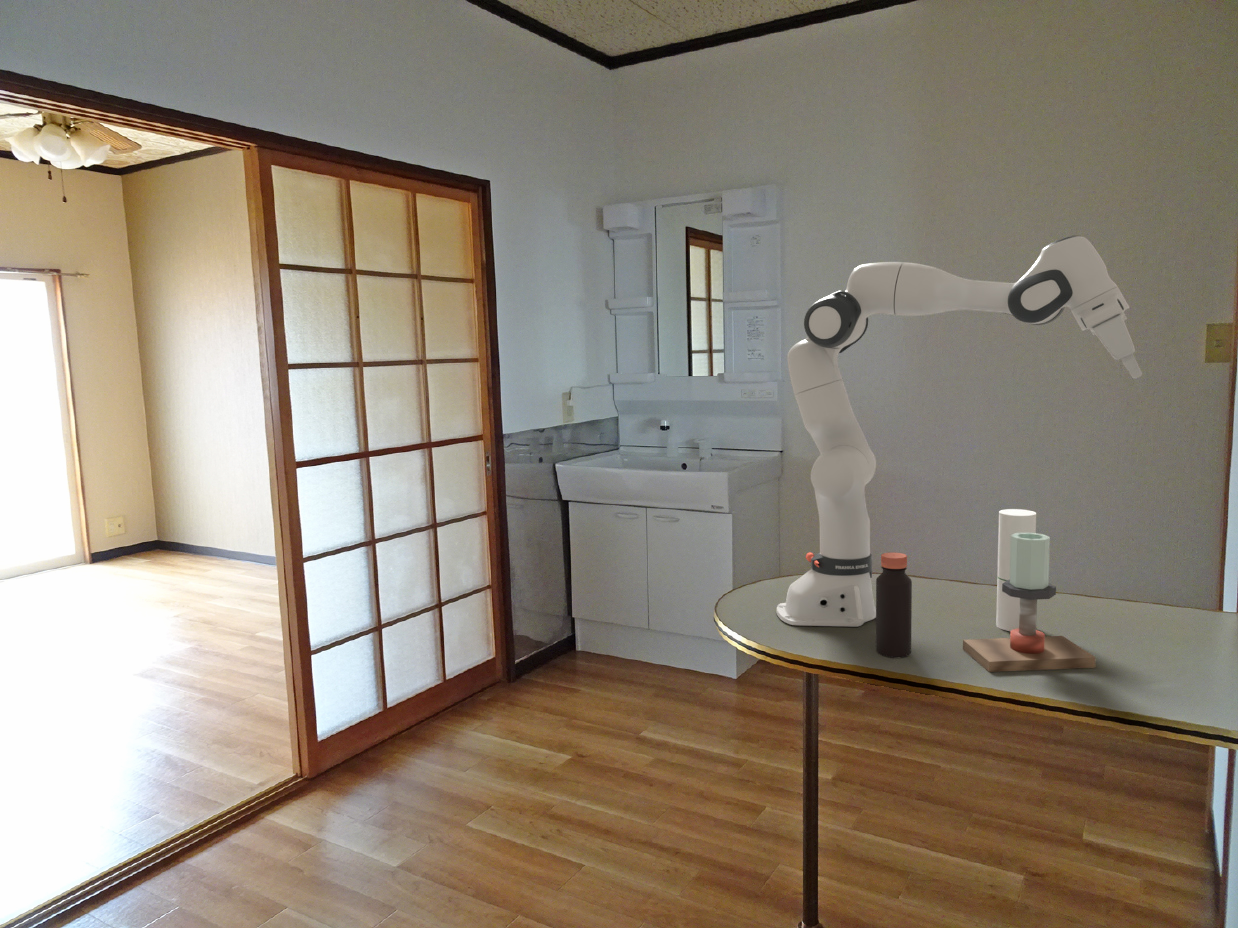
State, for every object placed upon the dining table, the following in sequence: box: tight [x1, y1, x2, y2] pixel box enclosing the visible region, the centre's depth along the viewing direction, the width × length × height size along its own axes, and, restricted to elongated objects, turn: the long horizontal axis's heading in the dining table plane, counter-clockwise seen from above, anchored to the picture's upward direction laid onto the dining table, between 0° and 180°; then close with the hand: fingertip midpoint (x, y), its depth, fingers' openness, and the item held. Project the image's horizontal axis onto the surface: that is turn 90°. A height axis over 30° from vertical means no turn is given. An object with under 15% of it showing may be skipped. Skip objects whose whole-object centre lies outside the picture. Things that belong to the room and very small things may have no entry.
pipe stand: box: [962, 598, 1097, 673], centre depth 166 cm, size 20×12×16 cm, turn 91°
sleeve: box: [1010, 532, 1051, 590], centre depth 165 cm, size 6×6×10 cm
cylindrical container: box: [995, 508, 1037, 632], centre depth 184 cm, size 7×7×25 cm
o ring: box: [1002, 579, 1057, 601], centre depth 166 cm, size 9×9×2 cm
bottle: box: [875, 551, 913, 658], centre depth 172 cm, size 7×7×20 cm
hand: (1137, 375), depth 164 cm, fingers open, 8 cm apart
